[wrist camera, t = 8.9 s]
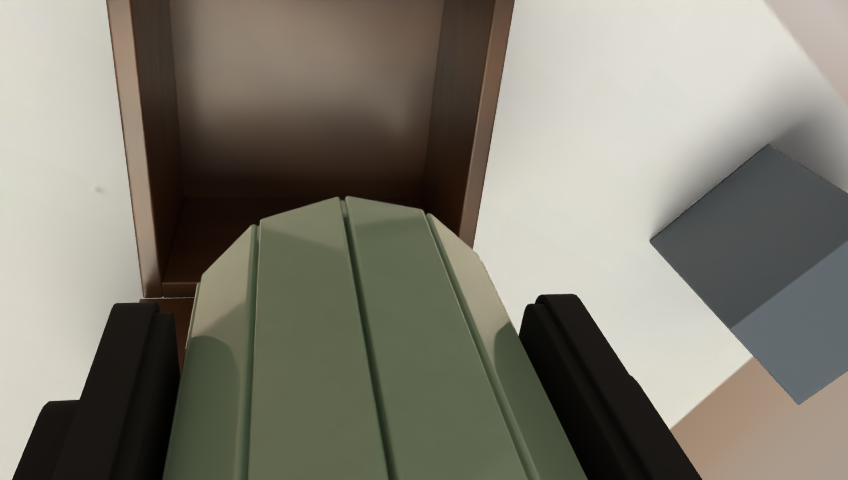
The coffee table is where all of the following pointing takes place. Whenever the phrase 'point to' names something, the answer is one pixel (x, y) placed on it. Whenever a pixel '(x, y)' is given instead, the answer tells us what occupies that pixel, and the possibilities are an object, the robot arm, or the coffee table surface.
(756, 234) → the slate grey cube
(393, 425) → the cup
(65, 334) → the coffee table surface
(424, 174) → the chest
